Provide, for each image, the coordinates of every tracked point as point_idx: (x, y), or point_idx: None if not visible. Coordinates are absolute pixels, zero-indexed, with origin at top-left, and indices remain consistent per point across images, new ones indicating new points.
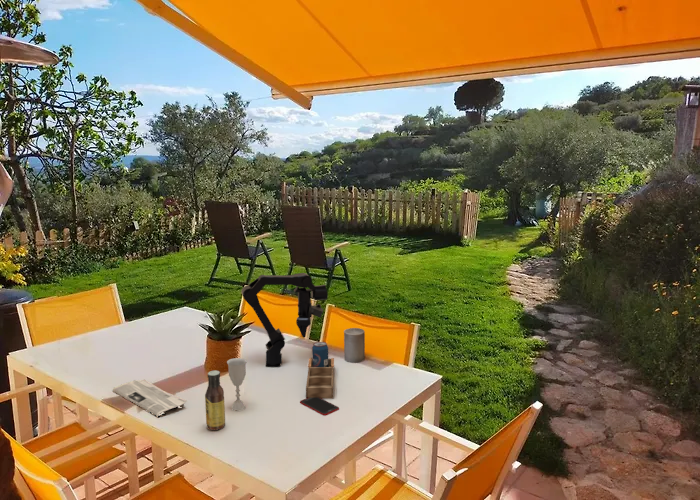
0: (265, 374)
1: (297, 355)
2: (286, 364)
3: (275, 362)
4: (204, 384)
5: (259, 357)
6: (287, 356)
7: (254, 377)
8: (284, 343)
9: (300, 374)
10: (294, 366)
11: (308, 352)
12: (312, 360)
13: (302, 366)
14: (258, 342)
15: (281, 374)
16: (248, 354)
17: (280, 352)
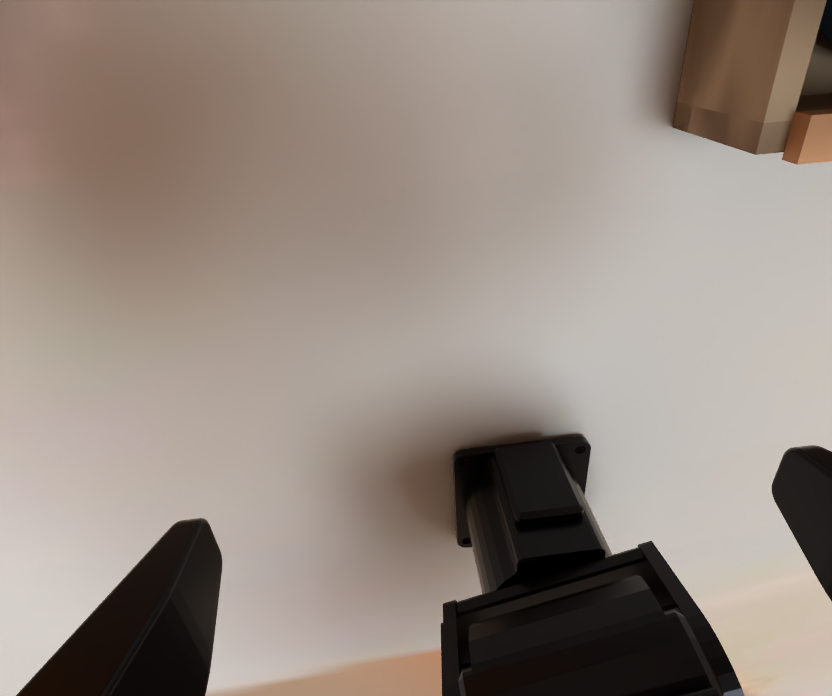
0: (724, 491)
1: (251, 340)
2: (524, 394)
3: (582, 493)
4: (776, 691)
5: (364, 600)
6: (303, 426)
7: (759, 536)
8: (687, 625)
9: (822, 213)
10: (585, 313)
11: (102, 227)
12: (785, 98)
13: (595, 228)
14: (20, 680)
15: (761, 386)
16: (312, 663)
17: (524, 534)
